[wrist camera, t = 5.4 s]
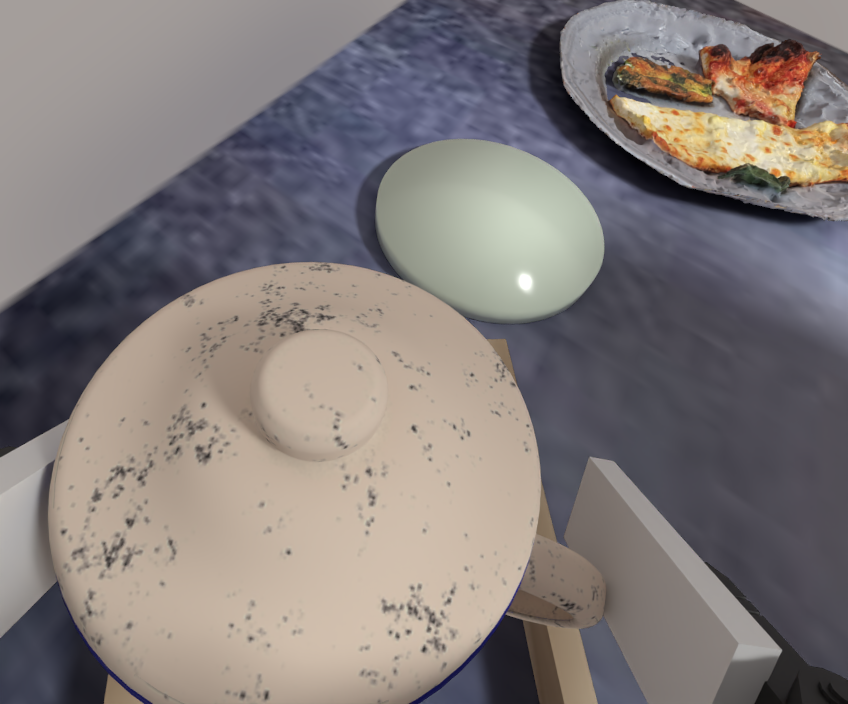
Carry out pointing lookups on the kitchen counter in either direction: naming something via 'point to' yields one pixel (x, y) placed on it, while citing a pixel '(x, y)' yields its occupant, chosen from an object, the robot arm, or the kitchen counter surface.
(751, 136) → the food plate
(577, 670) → the wooden frame
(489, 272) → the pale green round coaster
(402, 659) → the teacup with lid
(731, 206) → the kitchen counter surface
